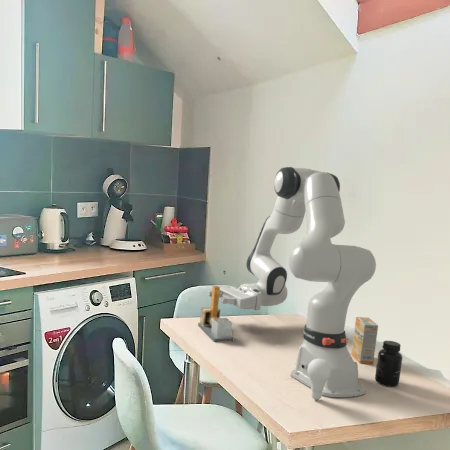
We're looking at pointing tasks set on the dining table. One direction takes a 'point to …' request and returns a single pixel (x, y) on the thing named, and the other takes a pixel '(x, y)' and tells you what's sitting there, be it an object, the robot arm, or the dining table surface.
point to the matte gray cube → (221, 328)
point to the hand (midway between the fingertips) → (215, 297)
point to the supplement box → (364, 340)
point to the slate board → (208, 331)
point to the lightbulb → (318, 376)
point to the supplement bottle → (389, 364)
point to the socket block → (203, 315)
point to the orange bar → (213, 304)
